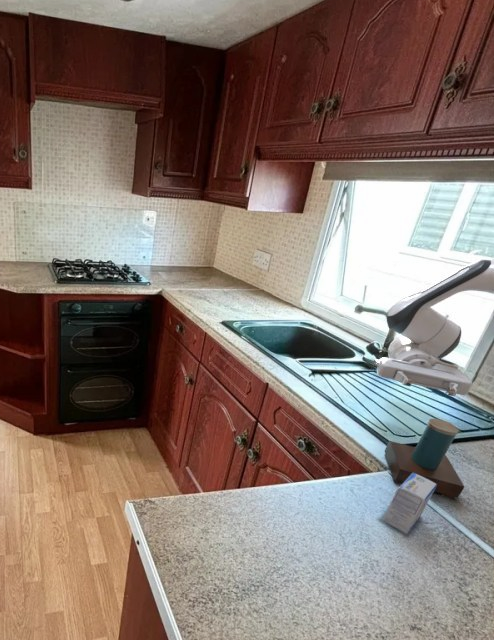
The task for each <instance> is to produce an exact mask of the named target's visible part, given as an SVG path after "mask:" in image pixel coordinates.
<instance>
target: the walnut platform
mask: <svg viewBox="0 0 494 640" xmlns="http://www.w3.org/2000/svg"><path fill="white" fill-rule="evenodd" d="M415 448H416V446H411V445H407V444H403V443H399V442H397V441H391V440H388V443H387V445H386V446H385V449H384V458H385V461H386V463H387V466H388V469H389V472H390V475H391V478H392V480H393V483H395V484H398V485H402V484H403V483H404V482H405V481H406V480H407V478H408V477H409V476H410V475H411V474H412V473H415V474H418V475H420V476H422V477H424V478H426V479H428V480H430V481H432V482H434V483H436V484H437V487H436V489H435V490H434V492H433V493H438V494H440V495H441V497H445V498H449V499H452V500H455V499H459V497H460V495H461V494H462V492H463V490H464V488H465V485H464V483H463V481H462V480H461V478H460V476H459V475H458V473H457V471H456V470H455V468H454V466H453V464H452V463H451V461H450V460H449V458H448V456H447V454H445V456H444V457H443V459H442V461H441V463H440V465H439V466H438V468H437V469H427V468H424V467H422V466H420V465H418V464H416V463H415V462H414V461H413V460H412V459H411V456H412V454H413V452H414V450H415Z"/></svg>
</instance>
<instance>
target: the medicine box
mask: <svg viewBox="0 0 494 640" xmlns="http://www.w3.org/2000/svg"><path fill="white" fill-rule="evenodd" d="M436 487H437V484H436V483H434V482H432V481H430V480H428V479H426V478H424V477H422V476H420V475H418V474H415V473H412V474H411V475H410V476H409V477H408V478H407V480H406V481H405V482H404V483H403V484H400V486H399V487H398V488H397V489H396V492H395V493H394V496H393V498H392V500H391V501H390V503H389V506H388V507H387V510H386V512H385V513H384V516H383V518H382V521H384V522H385V523H387V524H388V525H390V526H392V527H393V528H396V529H397V530H399V531H401V532H402V533H404V534H406V535H407V534H408V533H410V531H411V530H412V528H413V527H414V525H415V524H416V522H417V521H418V520H419V518H420V517H421V516H422V513H423V512H424V510H425V509H426V507H427V505H428V503H429V501H430V500H431V497H432V495H434V493H435V492H434V490H435V489H436Z"/></svg>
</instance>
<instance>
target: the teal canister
mask: <svg viewBox="0 0 494 640" xmlns="http://www.w3.org/2000/svg"><path fill="white" fill-rule="evenodd" d="M459 431H460V429H459V428H458V427H457V426H456V425H455V424H453V423H452V422H449V421H447V420H443V419H441V418H429V419H428V421H427V425H426V426H425V428H424V430H423V432H422V434H421V436H420V438H419V440H418V442H417V445H416V446H415V450H414V452H413V454H412V456H411V459H412V460H413V461H414V462H415V463H416V464H418V465H420V466H422V467H424V468H427V469H437V468H438V466H439V465H440V463H441V461H442V459H443V457H444V456H445V455H447V452H448V450H449V448H450V447H451V445H452V443H453V441H454V440H455V438H456V436H457V435H458V433H459Z"/></svg>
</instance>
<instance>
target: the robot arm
mask: <svg viewBox="0 0 494 640" xmlns="http://www.w3.org/2000/svg"><path fill="white" fill-rule="evenodd" d="M468 291H471V292H472V291H473V292H475V291H476V292H482V293H488V294H492V295H494V258H493V259H479V260H476V261H474V262H472V263H470V264H467V265H464V267H462V268H460V269H457V270H456V271H454V272H452V273H450V274H449V275H446V276H445V277H442V278H441V279H439V280H438V281H436V282H434V283H433V284H430V285H429V286H427V287H426V288H424V289H422V290H420V291H418V292H416V293H413V294H411V295H409V296H407V297H405V298H402V299H400V300H399V301H397V302H395V304H394V305H392V306H391V307H390V308H389V309H388V310H387V312H386V324H387V327H388V329H390V330H392V331H393V332H396V333H397V334H399V335H402V336H399V337H397V338H395V339H393V340H392V341H391V342H390V344H389V345H388V348H387V355H388V357H387V356H383V357H381V358H375V359H374V360H373V362H374V365H376V366H377V367H376V374H377V376H379V377H381V378H383V379H389V380H392V381H395V382H399V383H401V384H402V385H403V386H404V387H405V386H406V387H411V386H412V385H415V386H419V387H423V388H429V389H432V390H433V389H434V390H438V391H442V392H445V394H446V395H447V396H451V397H456V395H460V396H461V395H462V396H466V395H468V394H469V393H470V391H471V389H472V387H473V384H474V383H473V381H472V379H471V378H470V377H469V376H468V375H467V374H466V373H465V372H464V371H462V370H461V369H459V365H458V364H457V363H455V362H452V361H449V360H445V359H444V358H445V357H447V356H448V355H450V354H451V353H452V352H453V351H454V350H455V349H456V348H458V346H459V344H460V342H461V339H462V328H461V326H460V325H458V324H457V323H455V322H454V321H453V320H451V319H449V318H448V317H447V316H445V315H443V314H441V313H440V312H438V311H437V310H435V309H433V308H432V307H433V306H435V305H437V304H439V303H441V302H443V301H445V300H447V299H449V298H451V297H452V296H455V295H456V294H459V293H462V292H468Z"/></svg>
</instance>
